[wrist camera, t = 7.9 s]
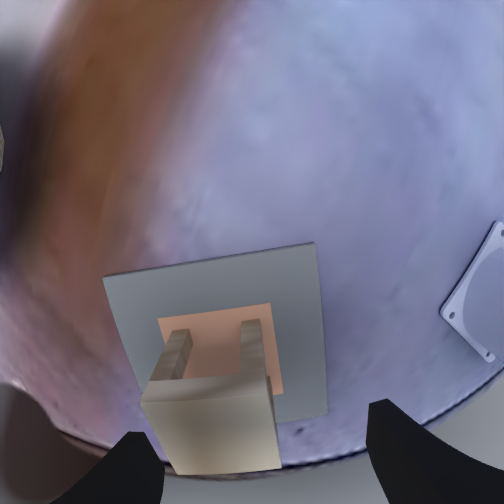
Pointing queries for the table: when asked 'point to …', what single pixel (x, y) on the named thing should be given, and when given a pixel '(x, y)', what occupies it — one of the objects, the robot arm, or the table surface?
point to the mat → (231, 320)
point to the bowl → (1, 148)
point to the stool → (214, 410)
